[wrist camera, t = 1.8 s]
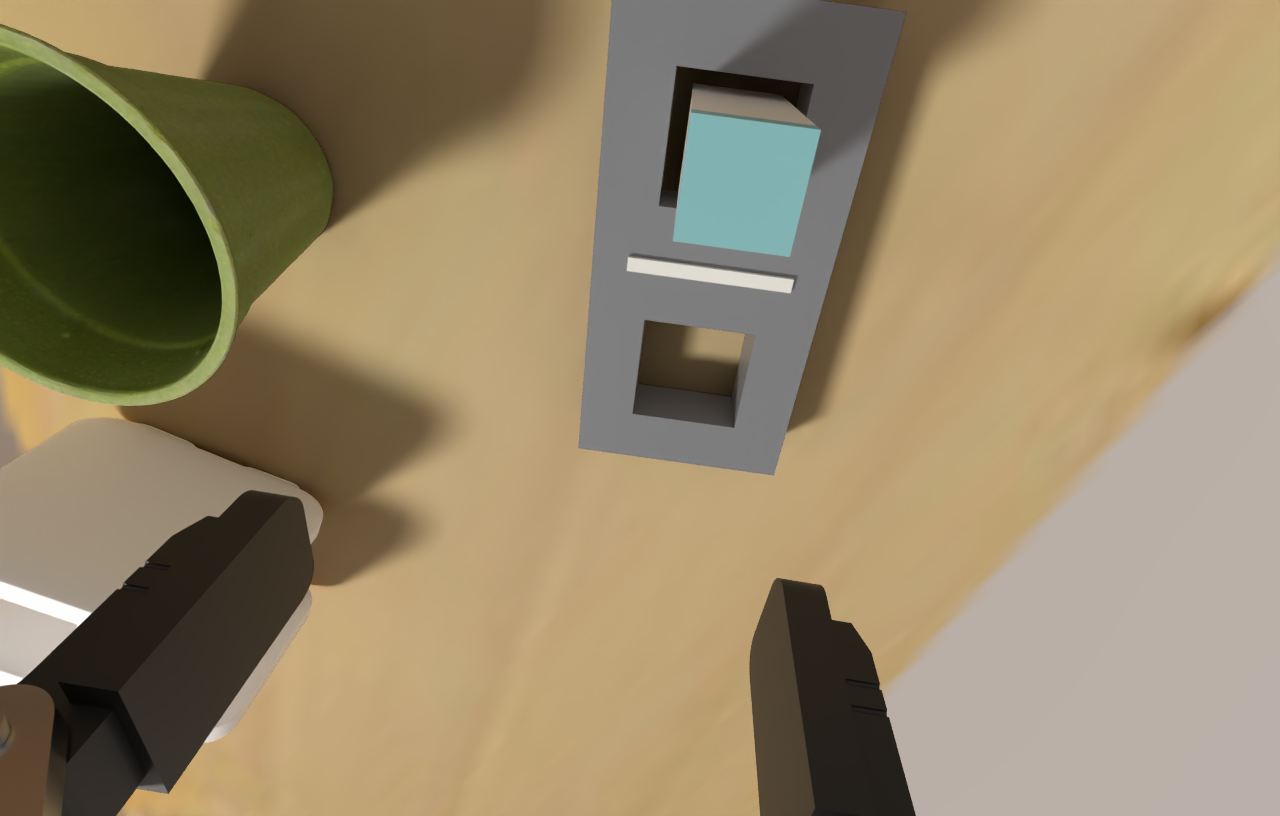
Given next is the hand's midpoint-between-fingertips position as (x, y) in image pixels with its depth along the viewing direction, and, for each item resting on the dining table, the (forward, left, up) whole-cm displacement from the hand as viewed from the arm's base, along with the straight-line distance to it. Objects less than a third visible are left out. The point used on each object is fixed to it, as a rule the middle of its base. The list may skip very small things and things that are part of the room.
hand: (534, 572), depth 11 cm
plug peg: (-4, +3, -21) cm, 22 cm away
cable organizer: (+22, -25, -22) cm, 39 cm away
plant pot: (0, -18, -22) cm, 28 cm away
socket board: (+1, +3, -21) cm, 22 cm away
